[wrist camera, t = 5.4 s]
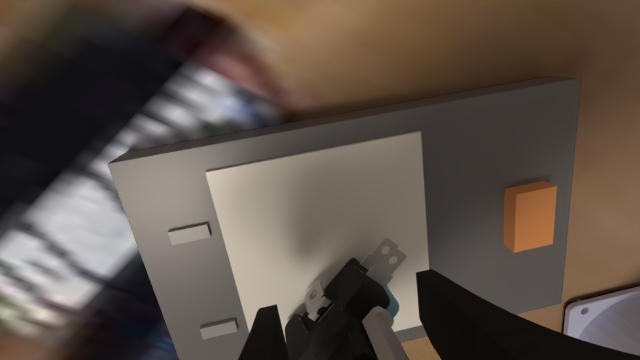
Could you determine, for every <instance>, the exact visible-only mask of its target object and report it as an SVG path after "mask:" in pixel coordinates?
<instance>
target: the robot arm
mask: <svg viewBox="0 0 640 360" xmlns="http://www.w3.org/2000/svg"><path fill="white" fill-rule="evenodd" d="M416 282H417V295H418V308H419V319H420V321H421V323H422V325H423V327H424V329H425V332H426V334H427V336H428V338H429V340H430V342H431V344H432V345H433V347H434V348H435V350H436V352H437V353H438V355H439V356H440V358H441V360H640V286H639V287H635V288H631V289H627V290H623V291H618V292H614V293H610V294H606V295H602V296H598V297H594V298H590V299H586V300H582V301H578V302H574V303H571V304H569V305H568V306H567V308H566V311H565V322H564V333H563V334H562V333H559V332H557V331H554V330H551V329H549V328H546V327H543V326H541V325H538V324H536V323H534V322H531V321H529V320H526V319H524V318H522V317H519V316H517V315H515V314H513V313H511V312H509V311H507V310H505V309H503V308H501V307H499V306H496V305H494V304H492V303H491V302H489V301H487V300H485V299H483V298H481V297H479V296H478V295H476V294H474V293H472V292H471V291H469V290H467V289H465V288H464V287H462V286H460V285H458V284H457V283H455V282H453V281H452V280H450V279H448V278H447V277H445V276H443V275H442V274H440V273H438V272H437V271H435V270H433V269H429V270H424V271H420V272H416ZM238 360H289V358H288V350H287V346H286V341H285V337H284V333H283V329H282V324H281V320H280V316H279V312H278V307H277V304H276V305H271V306H267V307H262V308H259V309H258V311H257V313H256V316H255V319H254V322H253V325H252V328H251V330H250V333H249V335H248V338H247V340H246V342H245V345H244V347H243V349H242V351H241V354H240V356H239V358H238Z"/></svg>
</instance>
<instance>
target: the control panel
mask: <svg viewBox="0 0 640 360" xmlns="http://www.w3.org/2000/svg"><path fill="white" fill-rule="evenodd" d="M580 85H581V78H570V77H542V78H536V79H530V80H525V81H519V82H514V83H508V84H503V85H497V86H491V87H486V88H480V89H475V90H469V91H463V92H458V93H452V94H447V95H441V96H436V97H430V98H424V99H419V100H413V101H408V102H402V103H397V104H391V105H385V106H380V107H374V108H369V109H363V110H358V111H352V112H346V113H341V114H335V115H330V116H324V117H319V118H313V119H307V120H302V121H296V122H291V123H285V124H280V125H274V126H268V127H263V128H257V129H252V130H246V131H241V132H235V133H229V134H224V135H218V136H213V137H207V138H201V139H196V140H190V141H185V142H179V143H174V144H168V145H162V146H157V147H151V148H146V149H140V150H135V151H129V152H126V153H124V154H122V155H121V156H119V157H118V158H116V159H114V160H113V161H111V162H110V163H108V167H109V170H110V172H111V175H112V178H113V181H114V183H115V186H116V189H117V191H118V194H119V197H120V200H121V202H122V205H123V208H124V210H125V213H126V216H127V219H128V221H129V224H130V227H131V229H132V232H133V235H134V238H135V240H136V243H137V246H138V248H139V251H140V254H141V257H142V259H143V262H144V265H145V267H146V270H147V273H148V276H149V278H150V281H151V284H152V286H153V289H154V292H155V295H156V297H157V300H158V303H159V305H160V308H161V311H162V314H163V316H164V319H165V322H166V324H167V327H168V330H169V333H170V335H171V338H172V341H173V343H174V346H175V349H176V352H177V354H178V357H179V360H238V358H239V356H240V354H241V351H242V349H243V347H244V345H245V342H246V340H247V338H248V335H249V333H250V330H251V328H252V325H253V322H254V319H255V316H256V313H257V311H258V309H259V308H262V307H267V306H271V305H276V304H277V307H278V312H279V316H280V320H281V324H282V329H283V333H284V337H285V326H286V324H287V322H288V321H289V320H290V319H291V317H292V316H293V315H294V314H296V313H297V314H299V315H301V316H302V315H303V314H304V313H305V312H306V311H307V308H306V303H305V296H306V293H307V292H308V291H309V290H310V289H311V288H312V286H313V285H314V284H315V283H316V282H317V281H321V284H322V287H323V290H324V289H325V288H326V287H327V286H328V285H329V283H330V282H331V281H332V280H333V279H334V277H335V276H336V275H337V274H338V273H339V272H340V270H341V269H342V268H343V267H344V266H345V264H346V263H347V262H348V261H349V260H350V259H351V258H355V259H356V260H358V261H359V262H361V261H362V260H363V259H364V258H365V257H366V255H367V254H370V255H371V254H372V253H373V252H374V251H375V249H376V248H377V247H378V246H379V245H380V243H381V242H382V241H383V240H384V239H385V238H389V239H390V240H391V241H393V242H394V243H395V244H397V245H398V249H399V250H400V251H402V252H403V253H404V254H406V259H405V260H404V261H403V262H402V263H401V265H400V266H399V267H398V268H397V269H396V270H395V271H394V273H393V274H392V276H393V278H392V280H391V281H390V282H389V283H388V284H387V286H388V288H389V290H390V291H391V293H392V294H393V296H394V297H395V299H396V300H397V302H398V303H399V311H398V313H397V315H396V316H395V317H394V318H393V319H394V324H393V326H392V329H393V331H394V333H395V335H396V336H397V338H398V340H399V342H400V343H401V342H405V341H409V340H414V339H418V338H422V337H426V336H427V334H426V332H425V329H424V327H423V325H422V323H421V321H420V319H419V308H418V295H417V282H416V272H420V271H424V270H429V269H433V270H435V271H437V272H438V273H440V274H442V275H443V276H445V277H447V278H448V279H450V280H452V281H453V282H455V283H457V284H458V285H460V286H462V287H464V288H465V289H467V290H469V291H471V292H472V293H474V294H476V295H478V296H479V297H481V298H483V299H485V300H487V301H489V302H491V303H492V304H494V305H496V306H499V307H501V308H503V309H505V310H507V311H509V312H511V313H513V314H519V313H523V312H527V311H531V310H536V309H540V308H544V307H548V306H552V305H556V304H560V303H561V302H562V290H563V279H564V268H565V256H566V245H567V233H568V222H569V210H570V199H571V187H572V176H573V165H574V153H575V142H576V130H577V119H578V107H579V96H580ZM389 251H390V248H389V247H388V246H385V247H383V248H382V251H381V252H382V253H383V254H387V253H388V252H389ZM396 262H397V257H396V256H392V257H391V258H390V259H389V263H390V264H395V263H396ZM316 293H317V290H315V291H314V292H313V294H312V296H311V300H312V299H313V298H314V297H315V296H316ZM285 341H286V339H285Z"/></svg>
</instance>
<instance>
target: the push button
mask: <svg viewBox="0 0 640 360" xmlns="http://www.w3.org/2000/svg"><path fill="white" fill-rule="evenodd" d="M385 246H388V247H389V248H390V251H389V252H388V253H387V254H383V253H382V252H381V251H382V248H383V247H385ZM392 256H396V257H397V262H396V263H395V264H390V263H389V259H390V258H391V257H392ZM405 259H406V254H404V253H403V252H402V251H400V250H399V249H398V245H397V244H395V243H394V242H393V241H391V240H390V239H389V238H385V239H384V240H383V241H382V242H381V243H380V245H379V246H378V247H377V248H376V249H375V251H374V252H373V253H372V254H371V255H370V254H367V255H366V257H365V258H364V259H363V260H362V261H361V262H359V261H358V260H356V259H355V258H351V259H350V260H349V261H348V262H347V263H346V264H345V266H344V267H343V268H342V269H341V270H340V272H339V273H338V274H337V275H336V276H335V277H334V279H333V280H332V281H331V282H330V283H329V285H328V286H327V287H326V288H325V289H324V290H323V287H322V284H321V281H317V282H316V283H315V284H314V285H313V286H312V288H311V289H310V290H309V291H308V292H307V293H306V296H305V303H306V308H307V311H306V312H305V313H304V314H303V315H302V316H301V315H299V314H297V313H296V314H294V315H293V316H292V317H291V319H290V320H289V321H288V322H287V324H286V326H285V339H286V346H287V350H288V358H289V360H409V358H408V357H407V355H406V353H405V351H404V349H403V347H402V346H401V344H400V342H399V340H398V338H397V336H396V335H395V333H394V331H393V329H392V326H393V324H394V319H393V318H394V317H395V316H396V315H397V313H398V311H399V303H398V302H397V300H396V299H395V297H394V296H393V294H392V293H391V291H390V290H389V288H388V286H387V284H388V283H389V282H390V281H391V280H392V278H393V276H392V274H393V273H394V271H395V270H396V269H397V268H398V267H399V266H400V265H401V263H402V262H403V261H404V260H405ZM315 290H317V293H316V296H315V297H314V298H313V299H312V300H311V296H312V294H313V292H314V291H315Z"/></svg>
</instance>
